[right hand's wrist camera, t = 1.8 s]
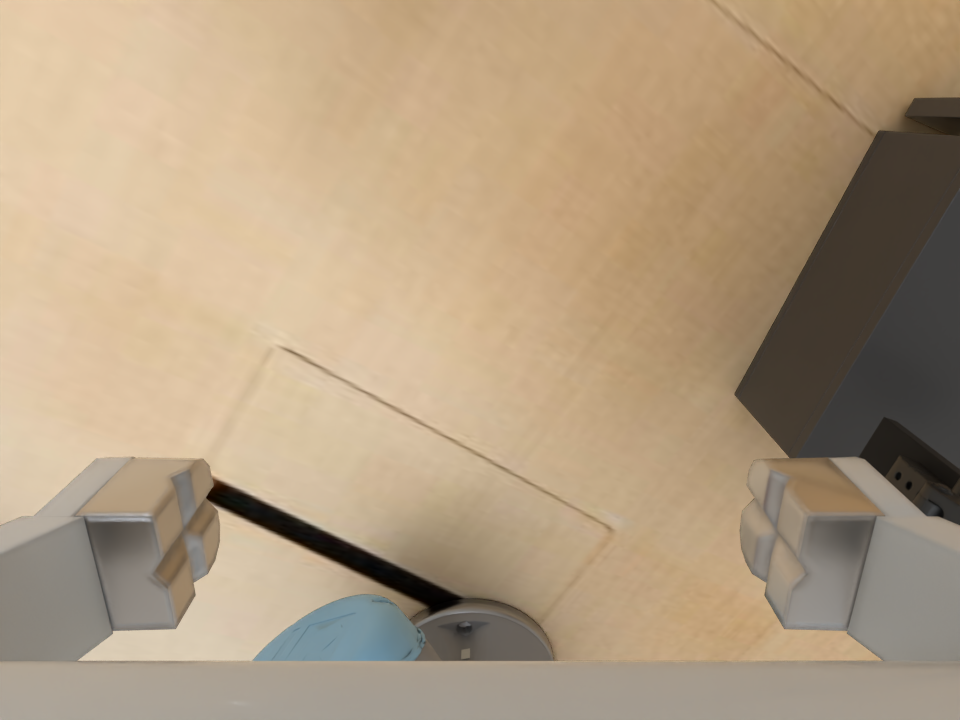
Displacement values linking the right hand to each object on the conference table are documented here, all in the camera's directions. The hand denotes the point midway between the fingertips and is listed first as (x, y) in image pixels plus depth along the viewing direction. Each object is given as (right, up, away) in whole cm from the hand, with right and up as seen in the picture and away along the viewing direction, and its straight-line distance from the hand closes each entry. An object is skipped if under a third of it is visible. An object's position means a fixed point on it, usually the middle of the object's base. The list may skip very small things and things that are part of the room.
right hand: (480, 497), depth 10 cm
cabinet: (+29, +7, +40) cm, 49 cm away
